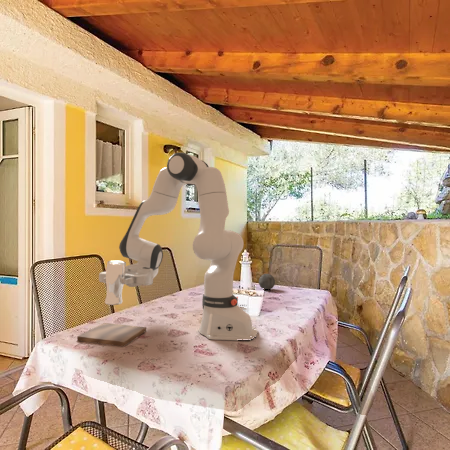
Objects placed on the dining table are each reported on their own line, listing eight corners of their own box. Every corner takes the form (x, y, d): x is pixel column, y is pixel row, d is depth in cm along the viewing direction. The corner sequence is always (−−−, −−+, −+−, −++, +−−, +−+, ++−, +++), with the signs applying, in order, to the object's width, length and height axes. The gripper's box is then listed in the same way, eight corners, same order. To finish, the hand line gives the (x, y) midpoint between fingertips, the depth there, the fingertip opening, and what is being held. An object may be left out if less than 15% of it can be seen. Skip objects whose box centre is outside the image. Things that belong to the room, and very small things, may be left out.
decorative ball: (275, 288, 213) (275, 273, 213) (274, 292, 203) (274, 275, 203) (259, 287, 215) (259, 272, 214) (257, 291, 205) (258, 274, 205)
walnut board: (146, 331, 128) (146, 327, 128) (123, 346, 112) (123, 342, 112) (104, 326, 132) (104, 322, 132) (77, 340, 117) (77, 336, 116)
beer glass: (116, 306, 119) (119, 264, 118) (99, 303, 120) (102, 262, 120) (127, 301, 125) (130, 262, 125) (110, 298, 127) (113, 259, 126)
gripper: (110, 266, 138) (89, 271, 124) (156, 268, 133) (139, 274, 119) (110, 281, 138) (89, 288, 124) (156, 284, 133) (139, 292, 119)
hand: (114, 281), depth 122 cm, fingers closed on beer glass, 6 cm apart
